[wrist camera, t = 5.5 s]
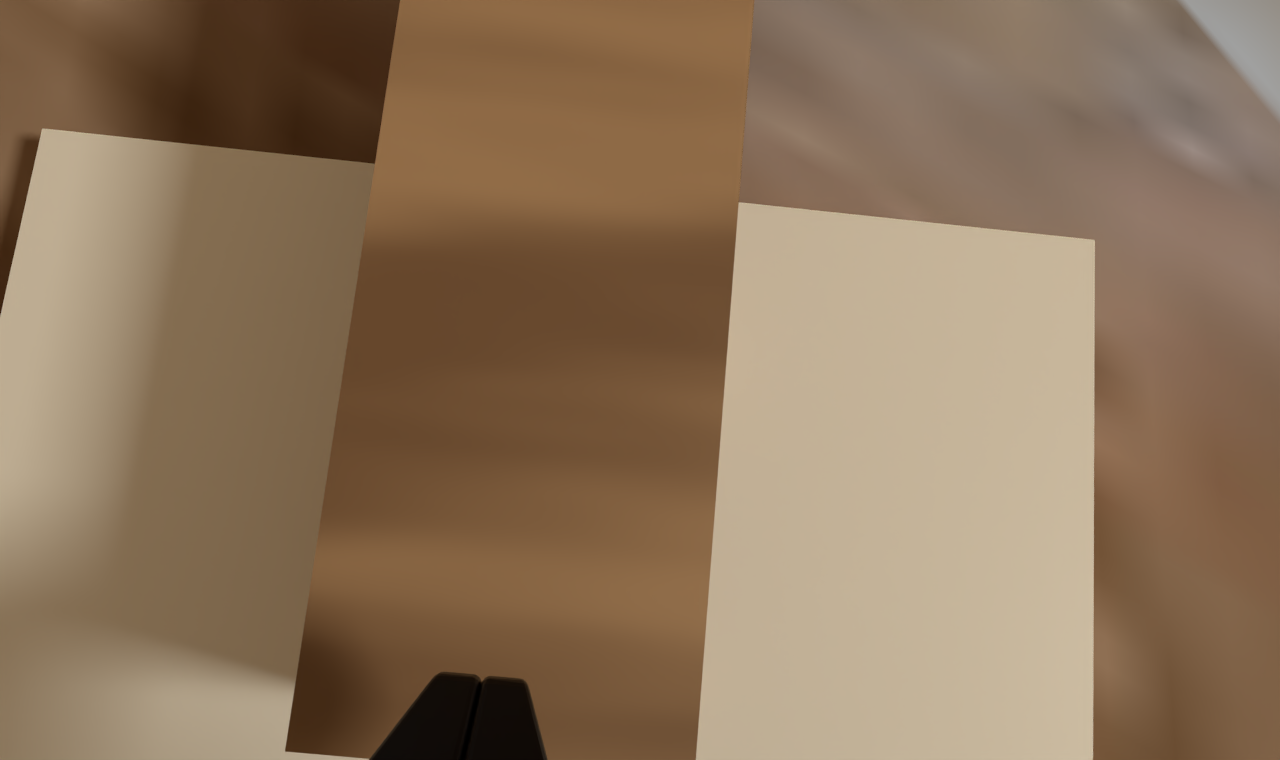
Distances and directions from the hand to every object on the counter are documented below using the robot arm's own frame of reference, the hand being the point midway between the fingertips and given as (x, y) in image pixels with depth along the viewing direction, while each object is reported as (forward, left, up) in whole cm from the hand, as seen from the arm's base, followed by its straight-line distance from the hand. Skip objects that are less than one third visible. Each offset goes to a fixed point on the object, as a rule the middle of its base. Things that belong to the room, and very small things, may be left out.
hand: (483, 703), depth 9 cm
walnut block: (-1, 0, -4) cm, 4 cm away
